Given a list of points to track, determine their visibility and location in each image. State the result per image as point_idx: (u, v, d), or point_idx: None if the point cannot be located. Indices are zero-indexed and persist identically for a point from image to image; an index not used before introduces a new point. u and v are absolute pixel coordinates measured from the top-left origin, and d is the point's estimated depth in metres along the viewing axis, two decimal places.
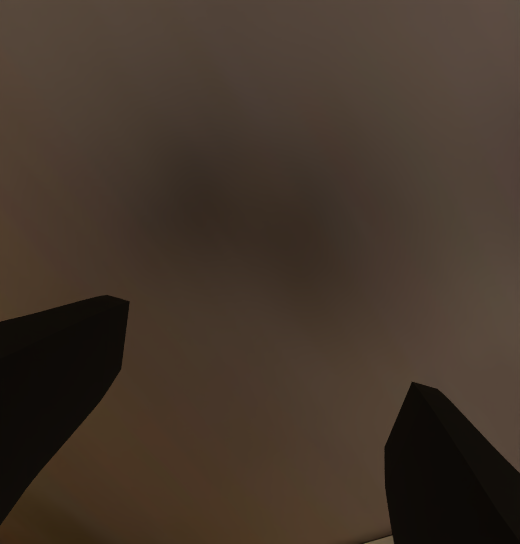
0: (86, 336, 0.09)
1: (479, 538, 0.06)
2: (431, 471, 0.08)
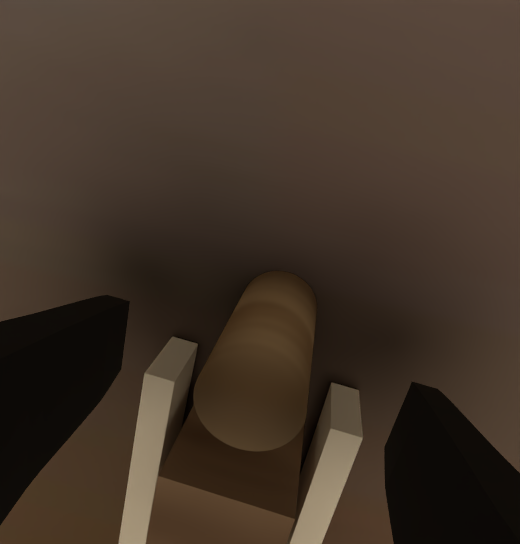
0: (86, 336, 0.09)
1: (479, 538, 0.06)
2: (431, 471, 0.08)
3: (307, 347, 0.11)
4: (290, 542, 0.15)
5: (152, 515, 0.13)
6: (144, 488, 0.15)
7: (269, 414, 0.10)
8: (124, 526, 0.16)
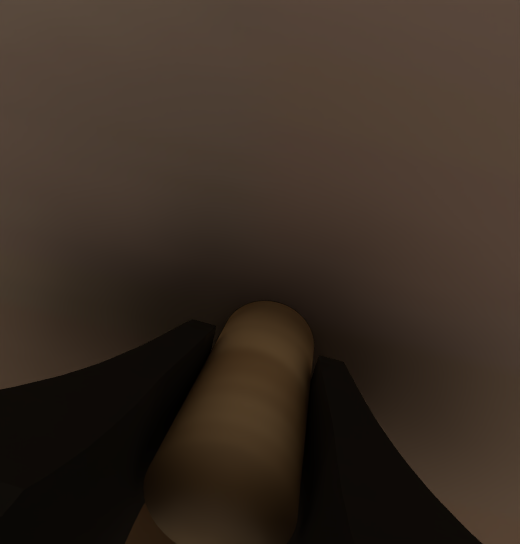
0: (188, 366, 0.09)
1: (325, 491, 0.06)
2: (314, 436, 0.08)
3: (300, 414, 0.08)
4: None
5: None
6: None
7: (246, 518, 0.07)
8: None
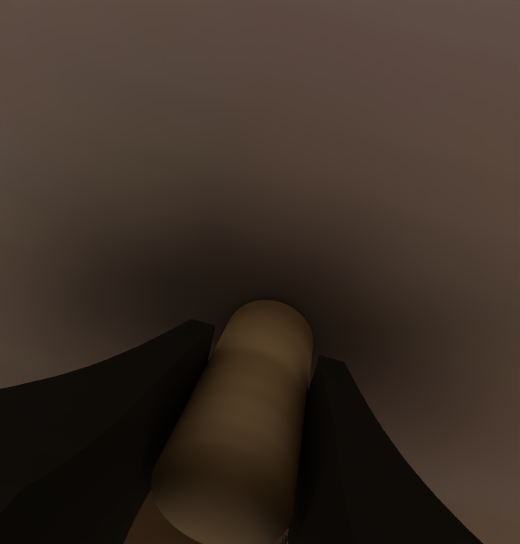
0: (187, 366, 0.09)
1: (327, 491, 0.06)
2: (315, 436, 0.08)
3: (298, 415, 0.09)
4: None
5: None
6: None
7: (245, 512, 0.08)
8: None
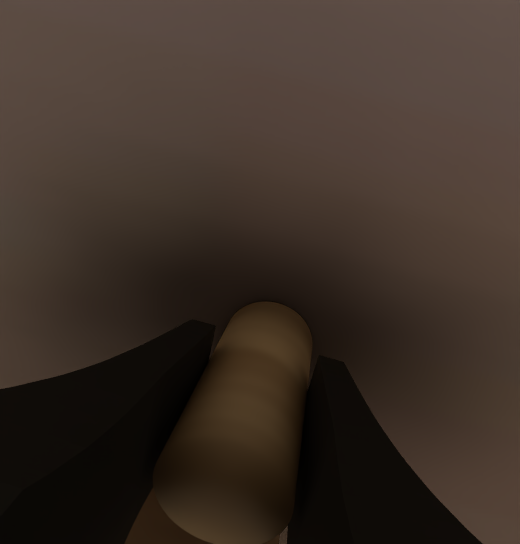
0: (188, 366, 0.09)
1: (325, 491, 0.06)
2: (315, 436, 0.08)
3: (299, 414, 0.09)
4: None
5: None
6: None
7: (246, 508, 0.08)
8: None
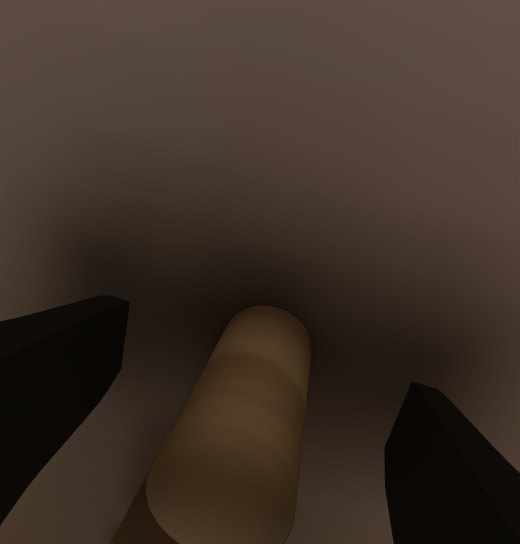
0: (86, 336, 0.09)
1: (479, 538, 0.06)
2: (431, 471, 0.08)
3: (299, 420, 0.09)
4: None
5: None
6: None
7: (244, 519, 0.07)
8: None
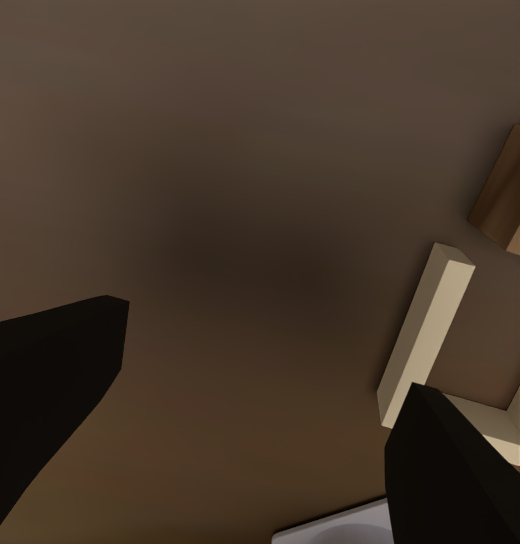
0: (87, 336, 0.09)
1: (479, 538, 0.06)
2: (431, 471, 0.08)
3: None
4: None
5: None
6: (421, 367, 0.18)
7: None
8: (393, 404, 0.19)
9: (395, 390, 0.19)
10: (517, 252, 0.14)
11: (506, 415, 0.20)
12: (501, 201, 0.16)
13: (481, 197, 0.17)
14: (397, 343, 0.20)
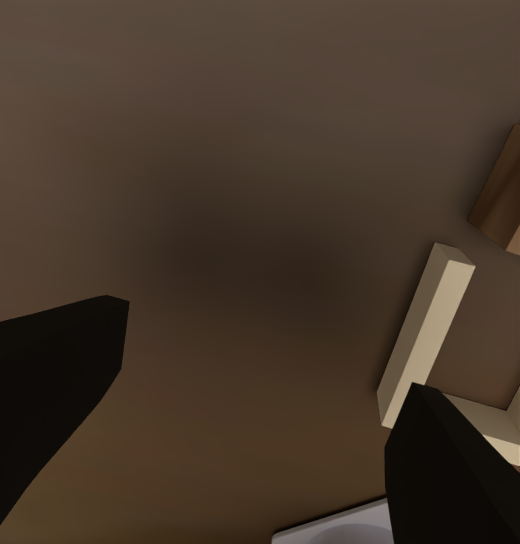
0: (87, 336, 0.09)
1: (479, 538, 0.06)
2: (431, 471, 0.08)
3: None
4: None
5: None
6: (421, 367, 0.18)
7: None
8: (393, 404, 0.19)
9: (395, 390, 0.19)
10: (517, 252, 0.14)
11: (506, 415, 0.20)
12: (501, 201, 0.16)
13: (481, 197, 0.17)
14: (397, 343, 0.20)
